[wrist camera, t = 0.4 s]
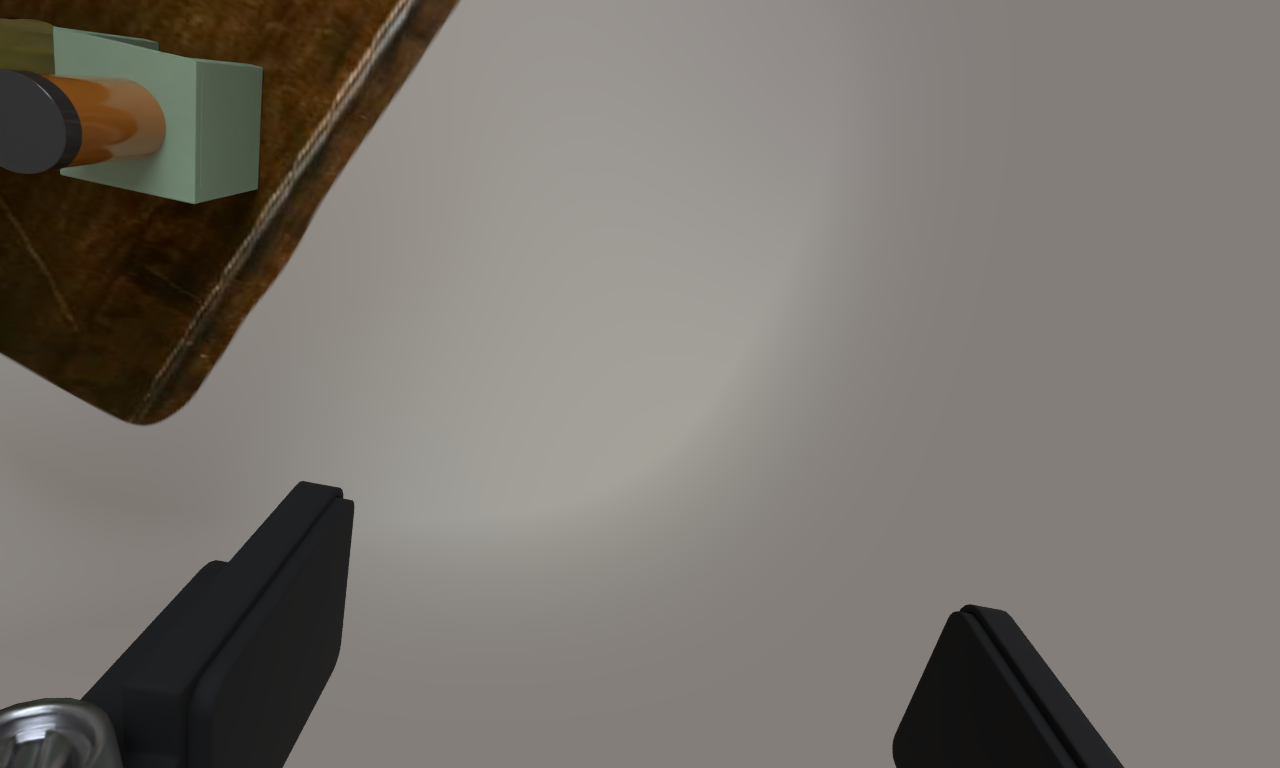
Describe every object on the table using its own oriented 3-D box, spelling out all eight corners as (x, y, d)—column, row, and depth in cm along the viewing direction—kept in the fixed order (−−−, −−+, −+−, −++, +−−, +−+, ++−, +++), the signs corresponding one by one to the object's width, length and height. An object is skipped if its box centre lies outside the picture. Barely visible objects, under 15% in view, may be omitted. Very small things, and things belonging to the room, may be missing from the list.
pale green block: (143, 38, 47) (52, 26, 40) (263, 67, 48) (196, 60, 40) (144, 164, 50) (59, 174, 42) (258, 189, 51) (194, 204, 43)
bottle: (82, 66, 40) (-45, 57, 33) (168, 86, 41) (62, 82, 33) (85, 151, 42) (-35, 161, 34) (168, 169, 42) (67, 183, 35)
